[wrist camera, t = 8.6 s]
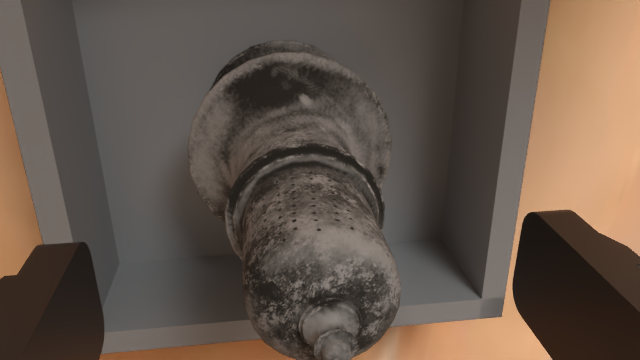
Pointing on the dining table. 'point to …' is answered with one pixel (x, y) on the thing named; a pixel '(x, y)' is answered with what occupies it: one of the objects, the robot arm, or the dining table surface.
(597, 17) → the dining table surface
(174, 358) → the dining table surface
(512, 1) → the box
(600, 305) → the robot arm
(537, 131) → the dining table surface
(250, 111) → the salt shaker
